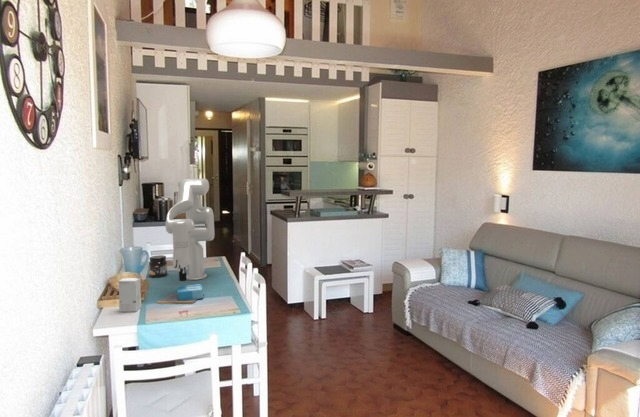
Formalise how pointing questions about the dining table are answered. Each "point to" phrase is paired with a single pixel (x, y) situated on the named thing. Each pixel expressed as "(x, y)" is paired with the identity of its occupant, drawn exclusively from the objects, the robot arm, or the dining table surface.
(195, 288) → the data package
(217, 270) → the dining table surface
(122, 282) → the skincare box
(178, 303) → the oak strip
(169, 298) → the rubber mat
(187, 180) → the robot arm
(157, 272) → the supplement container
